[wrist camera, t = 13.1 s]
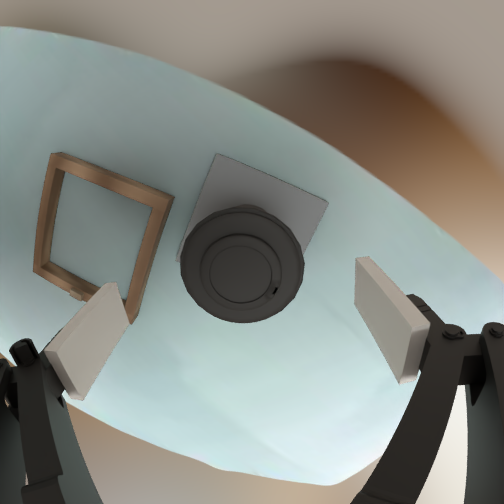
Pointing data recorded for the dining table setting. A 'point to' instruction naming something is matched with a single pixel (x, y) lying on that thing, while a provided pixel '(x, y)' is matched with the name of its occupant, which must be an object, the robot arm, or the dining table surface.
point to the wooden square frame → (114, 183)
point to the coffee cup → (242, 264)
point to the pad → (257, 198)
